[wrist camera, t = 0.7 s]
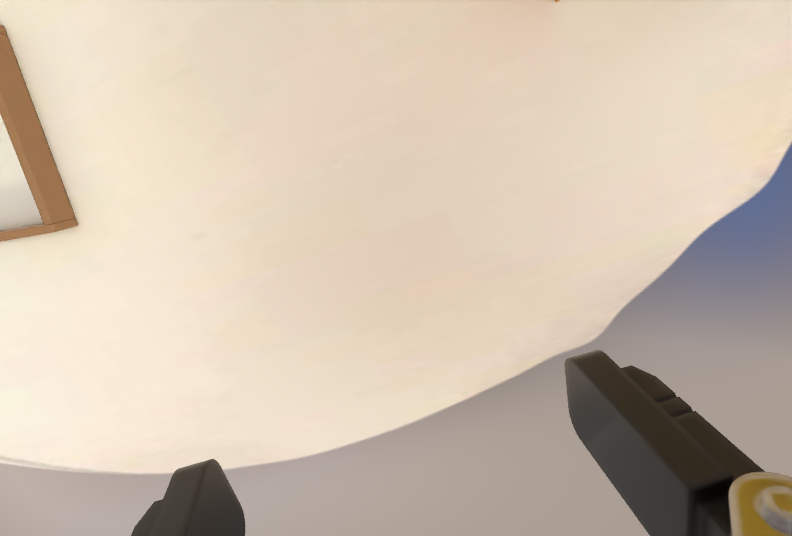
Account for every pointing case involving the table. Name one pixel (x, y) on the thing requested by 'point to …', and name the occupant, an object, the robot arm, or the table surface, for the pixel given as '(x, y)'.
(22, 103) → the wooden frame
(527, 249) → the table surface
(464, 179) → the table surface
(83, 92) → the table surface
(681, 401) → the robot arm
